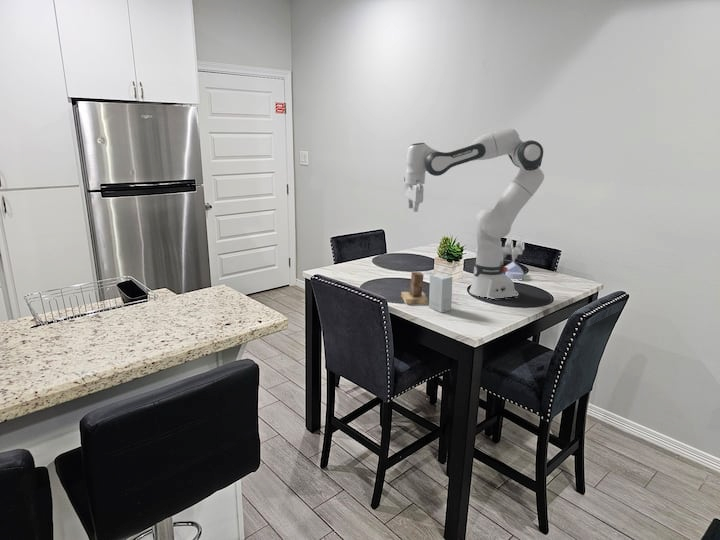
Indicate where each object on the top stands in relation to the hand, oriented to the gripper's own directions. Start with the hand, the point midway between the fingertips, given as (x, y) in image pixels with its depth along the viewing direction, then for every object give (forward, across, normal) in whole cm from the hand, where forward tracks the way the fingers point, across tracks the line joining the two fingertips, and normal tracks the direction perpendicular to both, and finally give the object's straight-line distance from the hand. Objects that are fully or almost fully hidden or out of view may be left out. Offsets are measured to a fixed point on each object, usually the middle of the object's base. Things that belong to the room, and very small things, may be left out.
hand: (413, 209), depth 223 cm
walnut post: (+35, -20, +2) cm, 40 cm away
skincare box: (+37, -31, -6) cm, 49 cm away
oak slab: (+38, -20, +2) cm, 43 cm away
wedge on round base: (+37, +13, -60) cm, 72 cm away
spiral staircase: (+37, +36, -61) cm, 80 cm away
